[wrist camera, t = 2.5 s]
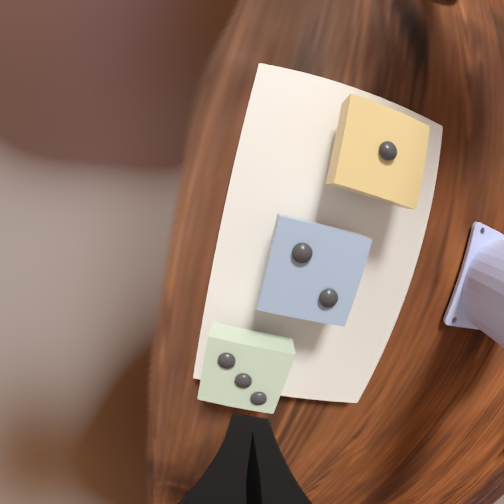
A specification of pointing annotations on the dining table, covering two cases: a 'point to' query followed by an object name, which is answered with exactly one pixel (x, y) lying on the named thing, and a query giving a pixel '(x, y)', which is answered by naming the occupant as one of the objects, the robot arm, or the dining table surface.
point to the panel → (320, 211)
